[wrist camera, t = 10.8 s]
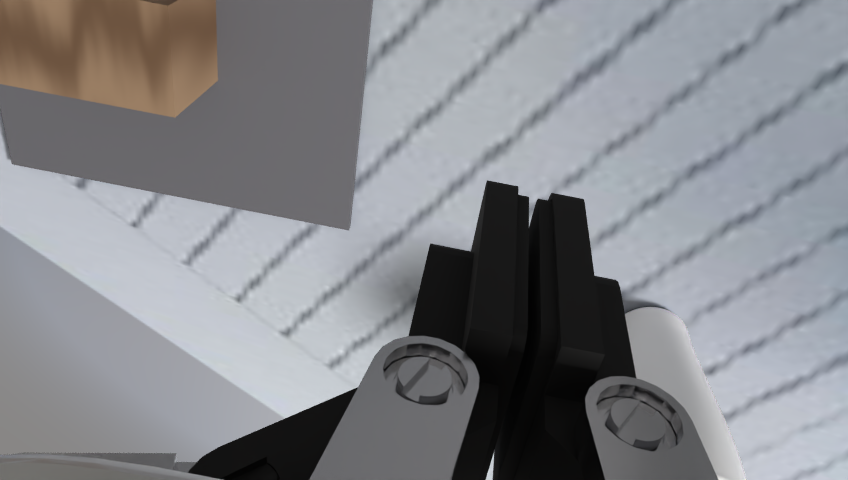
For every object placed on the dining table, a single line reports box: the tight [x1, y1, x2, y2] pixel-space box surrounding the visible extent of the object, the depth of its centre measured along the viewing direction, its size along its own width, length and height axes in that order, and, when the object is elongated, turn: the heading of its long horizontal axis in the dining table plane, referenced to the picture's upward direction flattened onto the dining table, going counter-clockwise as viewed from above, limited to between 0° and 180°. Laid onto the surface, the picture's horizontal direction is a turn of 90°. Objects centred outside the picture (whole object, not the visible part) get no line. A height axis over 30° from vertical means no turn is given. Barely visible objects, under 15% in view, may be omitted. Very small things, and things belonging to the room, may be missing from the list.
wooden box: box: [0, 0, 218, 118], centre depth 38 cm, size 6×6×12 cm
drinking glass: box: [625, 307, 747, 480], centre depth 42 cm, size 7×7×15 cm
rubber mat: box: [0, 0, 373, 230], centre depth 41 cm, size 24×24×1 cm
